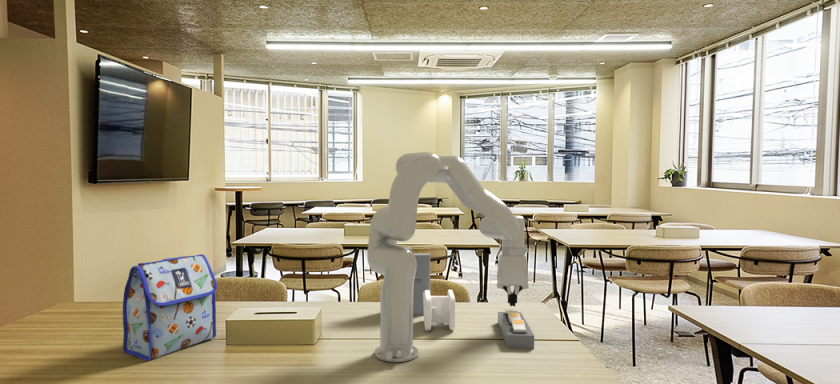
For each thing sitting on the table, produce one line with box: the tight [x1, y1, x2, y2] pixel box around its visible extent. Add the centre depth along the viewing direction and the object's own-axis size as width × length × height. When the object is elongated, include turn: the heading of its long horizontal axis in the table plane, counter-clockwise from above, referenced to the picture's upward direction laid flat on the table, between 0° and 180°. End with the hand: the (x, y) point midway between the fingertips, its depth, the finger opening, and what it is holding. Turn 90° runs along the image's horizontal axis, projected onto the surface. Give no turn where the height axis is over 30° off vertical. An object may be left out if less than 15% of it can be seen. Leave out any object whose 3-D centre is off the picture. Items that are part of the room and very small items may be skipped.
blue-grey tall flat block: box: [405, 246, 431, 316], centre depth 182 cm, size 17×5×25 cm, turn 89°
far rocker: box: [504, 308, 519, 313], centre depth 167 cm, size 5×4×1 cm
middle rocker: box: [508, 313, 521, 323], centre depth 159 cm, size 5×4×1 cm
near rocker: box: [512, 320, 526, 332], centre depth 151 cm, size 5×4×1 cm
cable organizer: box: [423, 289, 456, 332], centre depth 167 cm, size 15×11×12 cm
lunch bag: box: [122, 253, 218, 362], centre depth 145 cm, size 23×17×27 cm
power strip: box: [497, 311, 535, 350], centre depth 164 cm, size 34×8×5 cm, turn 177°
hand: (512, 305), depth 165 cm, fingers closed
